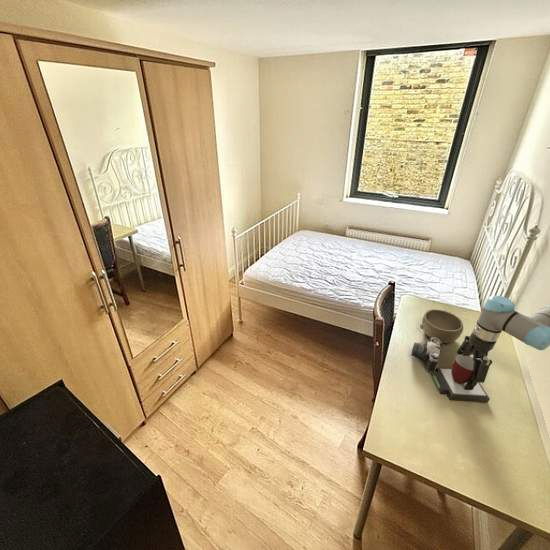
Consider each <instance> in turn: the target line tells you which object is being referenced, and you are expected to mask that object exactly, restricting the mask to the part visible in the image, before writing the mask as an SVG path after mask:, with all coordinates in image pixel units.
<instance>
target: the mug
mask: <svg viewBox="0 0 550 550" xmlns="http://www.w3.org/2000/svg"><path fill="white" fill-rule="evenodd" d="M473 366H474V361H473V356H472V357H471V355H470V356H463V354H460V355H459V354H457V355H455V357H454V359H453V362H452V366H451V369H452V371H451V374H452V378H453V380H454V381H455V382H456V383H458V384H464V383H467V382H468V380H469V378H470V376H472V374H473V371H474V370H473Z"/></svg>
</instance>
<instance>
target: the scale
mask: <svg viewBox="0 0 550 550" xmlns="http://www.w3.org/2000/svg"><path fill="white" fill-rule="evenodd" d="M451 371H452V368H448V367H447V368H445V367H436V368H435V370H434V371H433V373H431V379H432V380H433V382H434V384H435V386H436V388H437V390H438V392H439V394H440V395H446V397H447V398H448V400H449V401H454V402H455V401H456V402H470V403H482V404H483V403H484V404H488V403H489V401H490V400H491V398H490V397H489V395H488V394H487V392H486V391H485V389H484V387H483V386H482V384H481V382H478V383H477V385H476V386H474V388H473V390H465V389H464V388H465V386H466V384H467V383H464V384H458V383H456V382H455V381H454V380H453V378H452V374H451Z"/></svg>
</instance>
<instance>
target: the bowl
mask: <svg viewBox="0 0 550 550" xmlns="http://www.w3.org/2000/svg"><path fill="white" fill-rule="evenodd" d="M419 328H420V329H421V330H422V331H423V333H424V334H425V335H426V336H427V337H429V339H431V338H432V337H436V338H438V339H439V340H440V341H441V342H442V344H450V343H454V342H455V341H458V339H459V338H460V337H461V335H462V334H463V332H464V323H463V320H462V319H461V318H460V317H458V316H457V315H456V314H454V313H452V312H450V311H446V310H443V309H436V308H435V309H428V310H426V312H425V313H424V314H423V316H422V319H421V323H420V324H419Z"/></svg>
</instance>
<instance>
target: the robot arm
mask: <svg viewBox="0 0 550 550" xmlns="http://www.w3.org/2000/svg"><path fill="white" fill-rule="evenodd" d="M515 307H516V304H515V302H513V300H511V299H510V298H507V297H505V296H503V295H491V296H489V297H488V298H487V299H486V301H485V303H484V305H483V306H482V309H481V312H480V314H479V316H478V319H477V320H476V323H475V325H474V327H473V329H472V332H471V333H470V335H465V337H464V340H463V341H462V343H461V344H460V346H459V348H458V349H457V351H456V354H457V355H460V354H463V356H470V357H471V356H472V358H473V361H474V366H473V370H474V371H473V374H472V376H470V378H469V380H468V382H467V384H466V386H465V388H464V389H465V390H473V388H474V386H476V385H477V383H478V382H479V383H480V384H484V383H485V381H486V378H487V375H488V373H489V370H490V366H492V364H493V360H492V359H489V357H488V355H489V352H490V351H491V350H493V349H494V348H495V346H496V344H497V342H498V340H499V338H500V337H501V334H502V332H504V333H506V334H508V335H510V336H511V337H513V338H514V339H517V340H518V341H520V342H521V343H524V344H525V345H526V346H529V347H531V348H533V349H536V350H538V351H545V350H546V349H547V348H548V347H550V305H548V306H545V307H541V308H540V309H539V310H537V311H535V312H533V313H531V314H530V315H528V316H527V315H525V314H523V313H520V312H518V311H516V310H515Z"/></svg>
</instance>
